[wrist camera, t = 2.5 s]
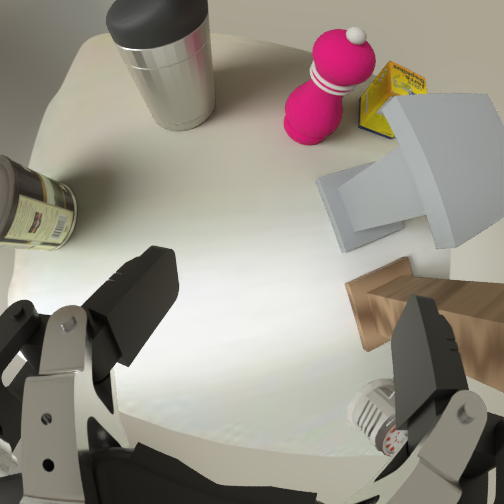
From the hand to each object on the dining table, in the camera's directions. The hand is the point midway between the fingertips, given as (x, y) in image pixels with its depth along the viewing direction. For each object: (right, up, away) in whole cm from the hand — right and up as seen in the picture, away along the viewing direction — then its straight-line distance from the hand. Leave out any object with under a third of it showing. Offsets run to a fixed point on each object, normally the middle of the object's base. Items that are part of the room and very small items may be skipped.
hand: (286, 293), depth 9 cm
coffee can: (-31, +6, +24) cm, 40 cm away
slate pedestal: (+14, +8, +27) cm, 31 cm away
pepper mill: (+6, +19, +27) cm, 34 cm away
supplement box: (+18, +22, +28) cm, 40 cm away
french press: (+18, -22, +27) cm, 39 cm away
